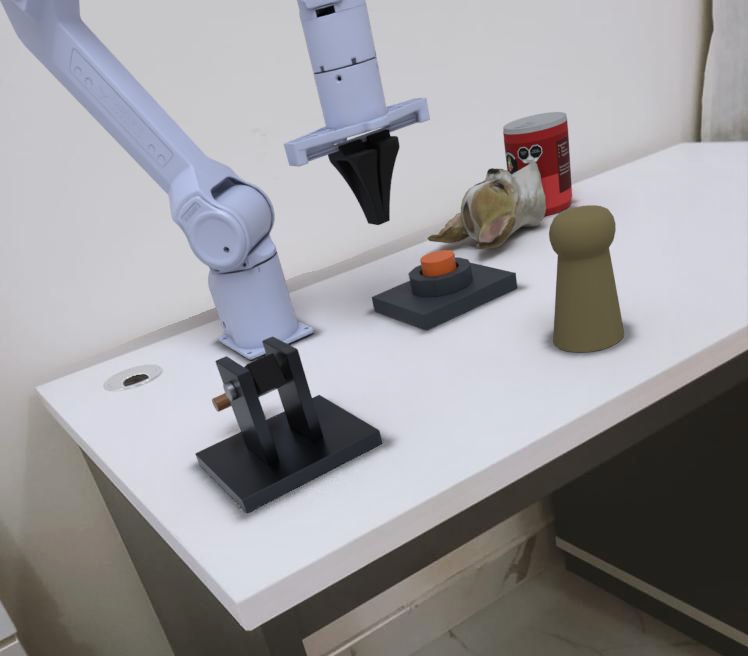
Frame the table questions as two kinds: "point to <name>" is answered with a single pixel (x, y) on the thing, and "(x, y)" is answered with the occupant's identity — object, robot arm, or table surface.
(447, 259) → the button
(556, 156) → the canned food
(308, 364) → the table surface
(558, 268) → the olive pawn
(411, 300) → the button box
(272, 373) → the lever
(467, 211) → the ceramic sculpture
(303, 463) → the bracket
